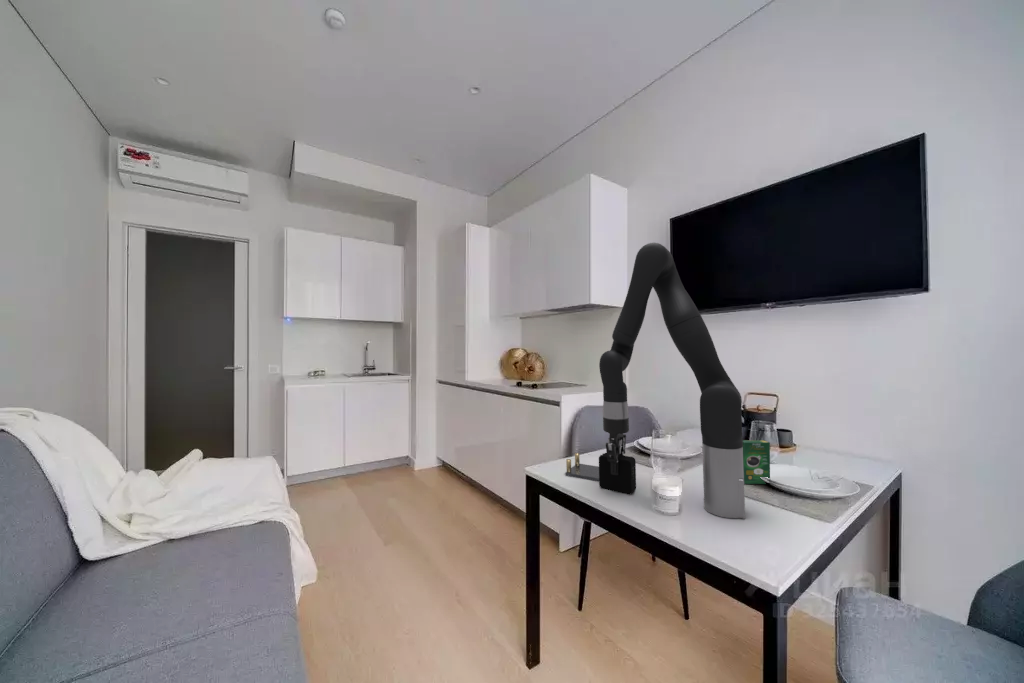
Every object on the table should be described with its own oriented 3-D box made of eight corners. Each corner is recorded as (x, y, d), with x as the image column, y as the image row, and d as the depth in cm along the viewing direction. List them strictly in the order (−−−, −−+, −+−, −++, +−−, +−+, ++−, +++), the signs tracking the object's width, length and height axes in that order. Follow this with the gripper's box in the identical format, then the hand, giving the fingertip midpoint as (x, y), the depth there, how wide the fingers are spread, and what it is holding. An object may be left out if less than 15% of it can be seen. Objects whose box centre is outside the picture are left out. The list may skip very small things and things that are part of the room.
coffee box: (765, 481, 115) (764, 439, 115) (771, 484, 112) (770, 441, 112) (739, 481, 115) (738, 439, 115) (744, 484, 112) (743, 441, 112)
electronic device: (631, 495, 106) (630, 461, 106) (599, 488, 112) (598, 455, 112) (636, 490, 110) (635, 457, 110) (604, 483, 116) (603, 452, 116)
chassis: (619, 472, 125) (619, 458, 125) (610, 483, 116) (609, 467, 116) (576, 465, 133) (576, 452, 133) (565, 475, 124) (564, 460, 124)
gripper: (621, 421, 103) (623, 482, 103) (633, 412, 115) (635, 467, 115) (596, 419, 107) (597, 477, 107) (610, 410, 119) (611, 463, 119)
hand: (617, 471), depth 111 cm, fingers closed on electronic device, 4 cm apart
